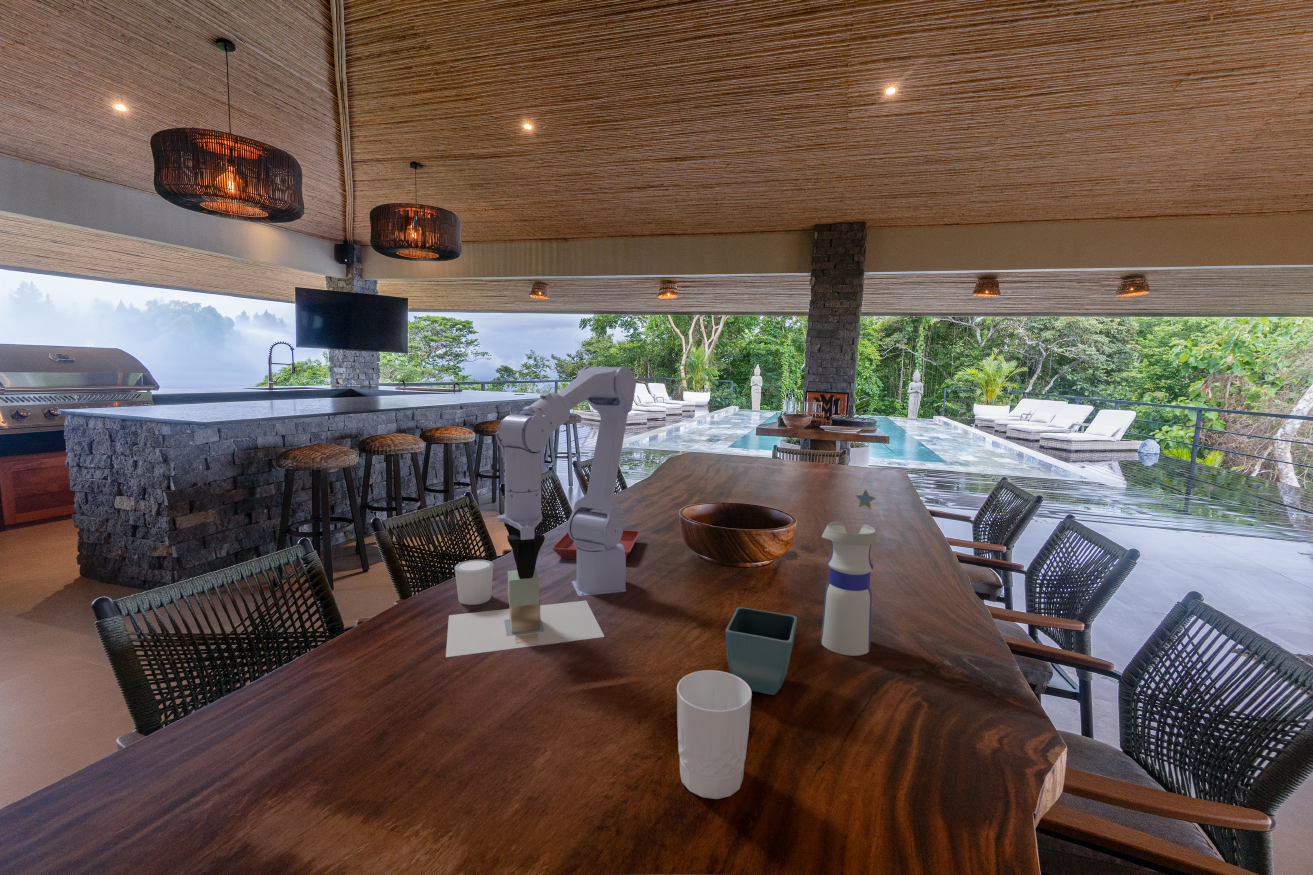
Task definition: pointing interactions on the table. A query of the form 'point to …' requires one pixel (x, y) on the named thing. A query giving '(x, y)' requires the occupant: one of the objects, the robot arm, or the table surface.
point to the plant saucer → (569, 550)
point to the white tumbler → (474, 581)
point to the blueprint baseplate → (496, 635)
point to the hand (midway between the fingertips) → (523, 569)
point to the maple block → (525, 618)
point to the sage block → (522, 589)
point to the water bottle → (848, 588)
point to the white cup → (712, 732)
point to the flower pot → (760, 647)
